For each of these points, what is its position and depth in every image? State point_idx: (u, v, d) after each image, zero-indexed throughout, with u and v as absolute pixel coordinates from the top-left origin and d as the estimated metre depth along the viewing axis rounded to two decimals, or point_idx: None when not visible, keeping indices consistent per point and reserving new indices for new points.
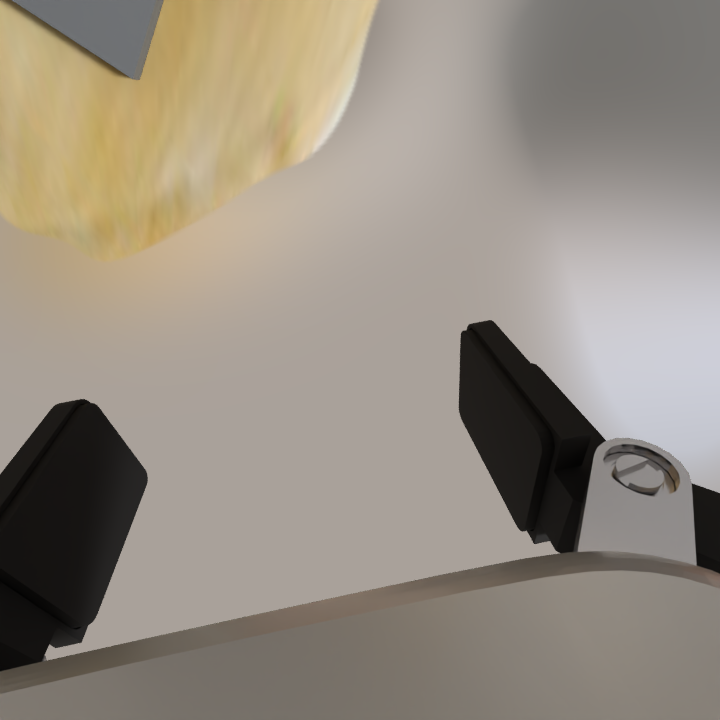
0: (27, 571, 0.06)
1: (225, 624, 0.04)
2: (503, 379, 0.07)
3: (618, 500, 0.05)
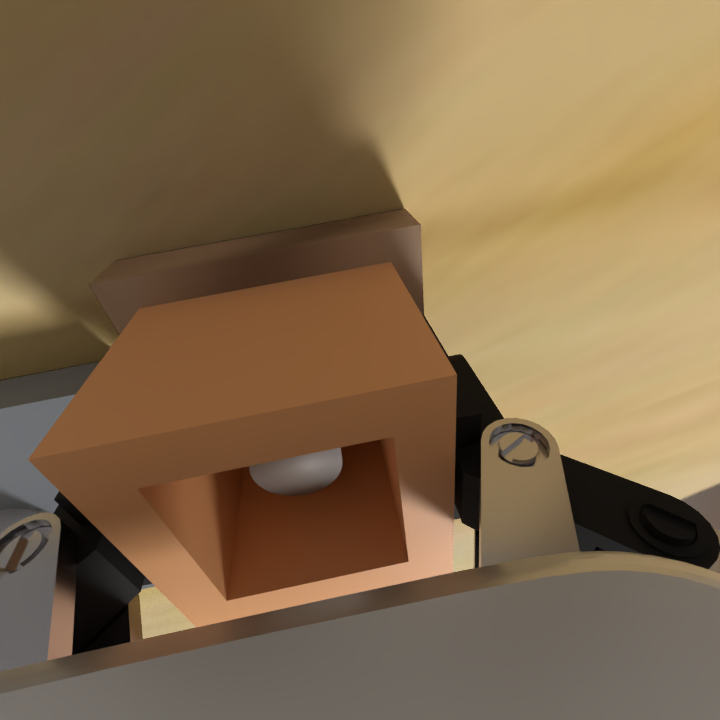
0: None
1: (225, 624, 0.04)
2: None
3: (506, 477, 0.06)
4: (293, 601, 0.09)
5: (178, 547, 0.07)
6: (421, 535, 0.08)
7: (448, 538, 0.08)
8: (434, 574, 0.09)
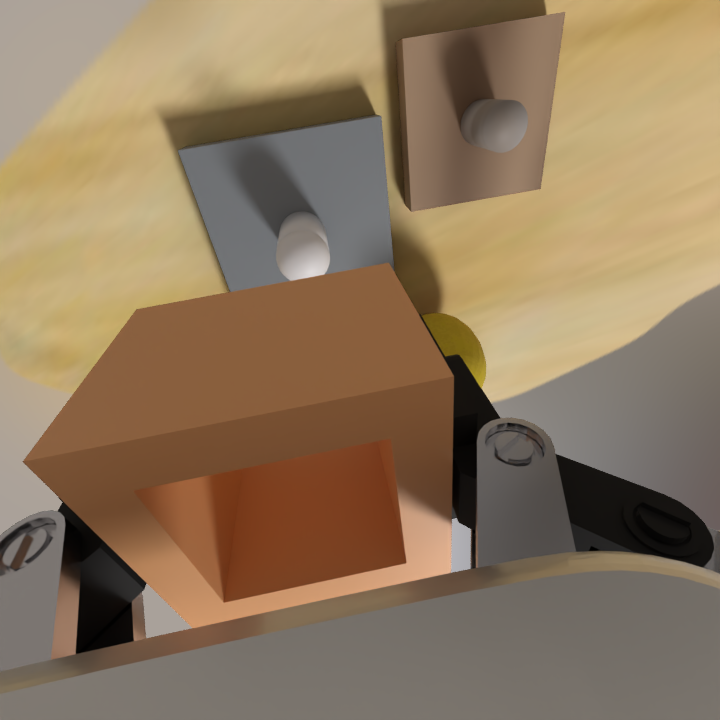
0: None
1: (225, 624, 0.04)
2: None
3: (502, 477, 0.06)
4: (291, 603, 0.08)
5: (175, 549, 0.07)
6: (419, 537, 0.08)
7: (446, 539, 0.08)
8: (432, 576, 0.09)
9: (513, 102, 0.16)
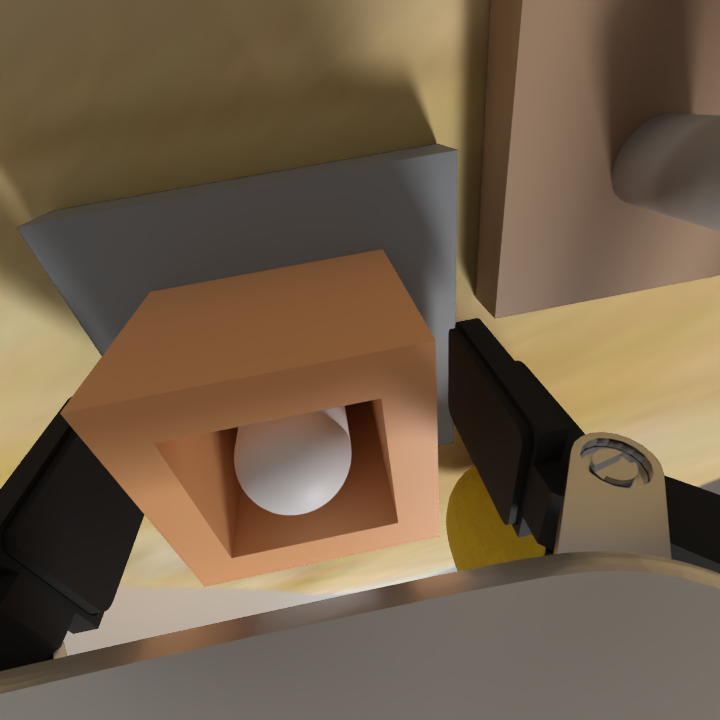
0: (48, 557, 0.07)
1: (225, 624, 0.04)
2: (487, 375, 0.08)
3: (595, 493, 0.05)
4: (292, 560, 0.09)
5: (188, 502, 0.07)
6: (409, 496, 0.08)
7: (435, 499, 0.09)
8: (422, 537, 0.09)
9: None
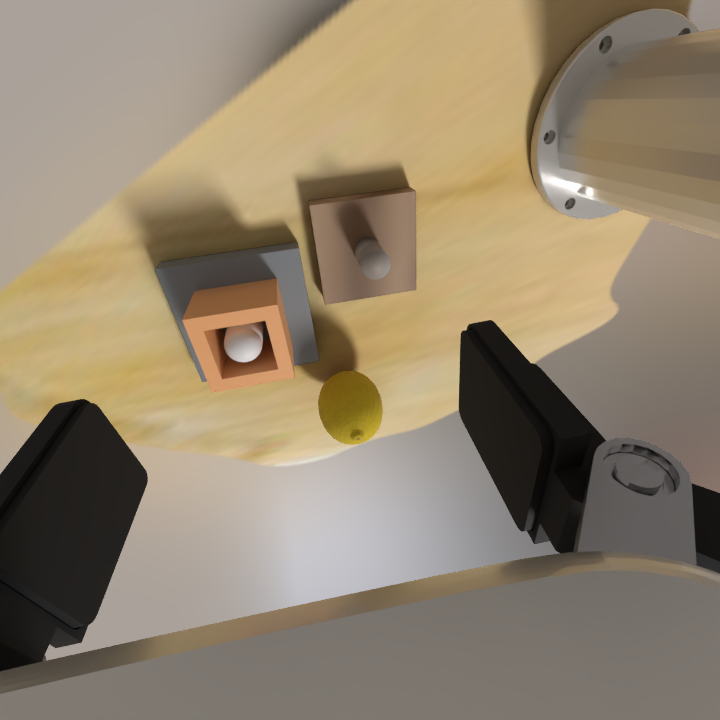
0: (27, 571, 0.06)
1: (225, 624, 0.04)
2: (503, 379, 0.07)
3: (618, 500, 0.05)
4: (242, 383, 0.27)
5: (210, 352, 0.25)
6: (280, 357, 0.27)
7: (289, 360, 0.27)
8: (288, 377, 0.28)
9: (379, 252, 0.25)
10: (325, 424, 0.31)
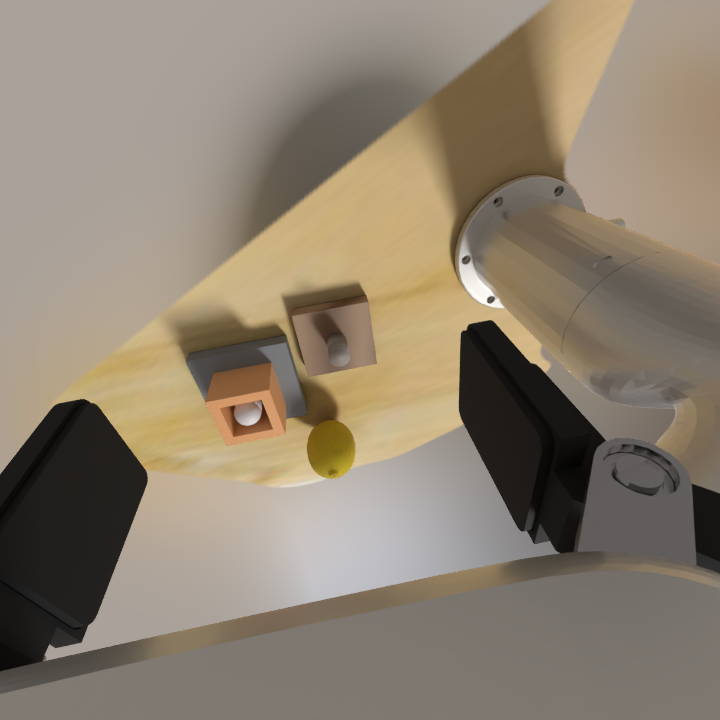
0: (27, 571, 0.06)
1: (225, 624, 0.04)
2: (503, 379, 0.07)
3: (618, 500, 0.05)
4: (248, 439, 0.38)
5: (224, 421, 0.36)
6: (273, 422, 0.37)
7: (280, 423, 0.37)
8: (280, 434, 0.38)
9: (340, 350, 0.35)
10: (311, 463, 0.42)
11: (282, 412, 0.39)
